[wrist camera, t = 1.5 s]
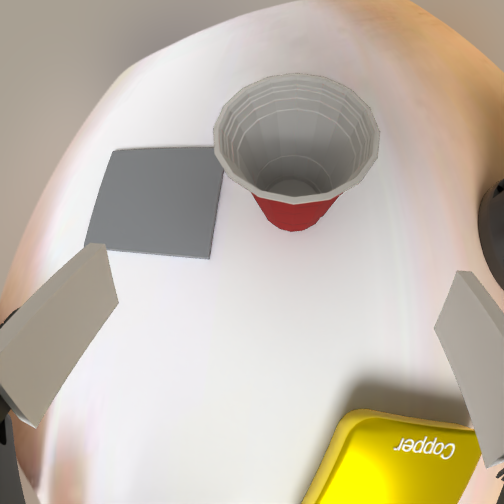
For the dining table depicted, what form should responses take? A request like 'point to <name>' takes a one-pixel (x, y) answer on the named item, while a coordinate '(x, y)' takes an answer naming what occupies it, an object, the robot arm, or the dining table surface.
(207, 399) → the dining table surface
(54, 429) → the dining table surface
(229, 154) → the plastic cup
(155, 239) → the card
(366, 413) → the element tile
